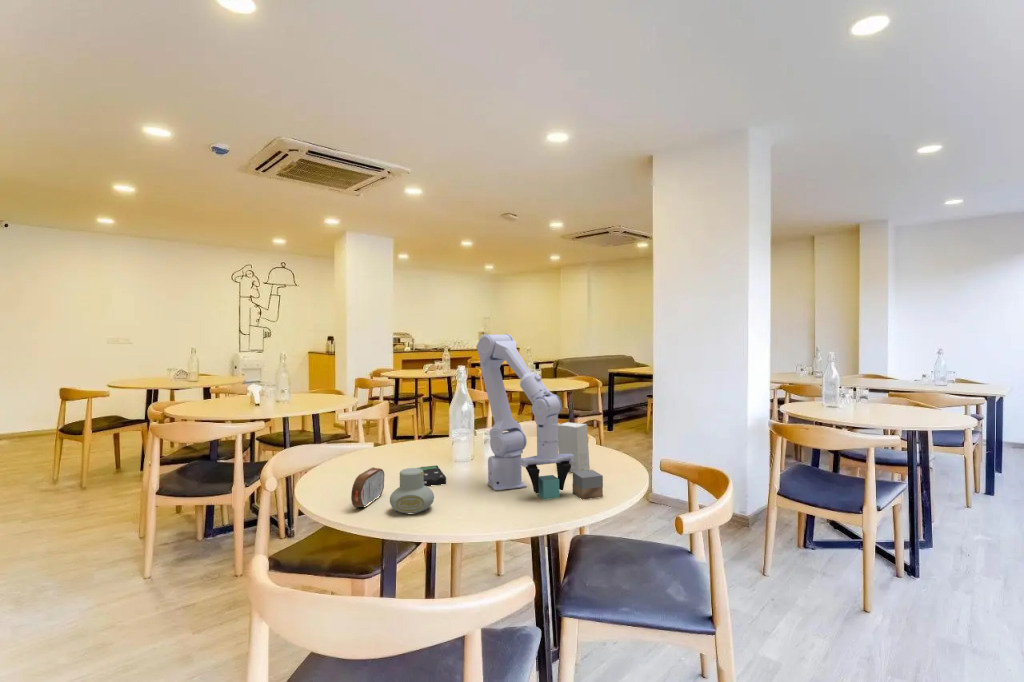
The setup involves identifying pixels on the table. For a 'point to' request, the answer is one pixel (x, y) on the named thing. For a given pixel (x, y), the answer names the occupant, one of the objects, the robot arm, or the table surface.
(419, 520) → the table surface
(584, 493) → the tower bottom
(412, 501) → the air freshener
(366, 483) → the tin
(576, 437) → the skincare box
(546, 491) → the teal block
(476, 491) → the table surface
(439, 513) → the table surface
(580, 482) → the tower top
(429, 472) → the disk drive
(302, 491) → the table surface
